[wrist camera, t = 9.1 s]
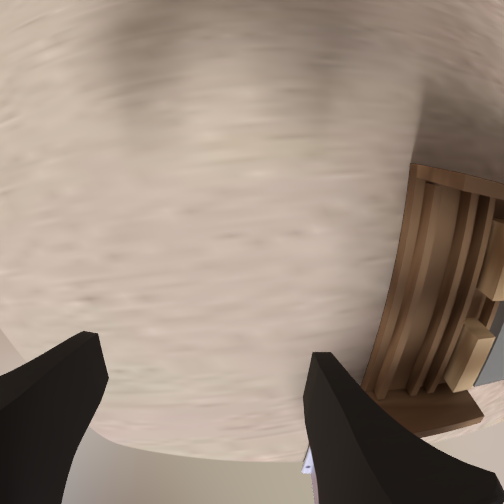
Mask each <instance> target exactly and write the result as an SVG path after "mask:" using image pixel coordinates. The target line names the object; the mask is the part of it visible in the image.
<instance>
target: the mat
mask: <svg viewBox="0 0 504 504" xmlns="http://www.w3.org/2000/svg"><path fill="white" fill-rule="evenodd" d="M489 331H490V332H491V333H492V334H493V335H494V336H495V337H496V338H495V340H494V342H493V345H492V347H491V349H490V351H489V353H488V356H487V358H486V360H485V362H484V364H483V366H482V368H481V370H480V372H479V374H478V376H477V378H476V380H475V382H474V384H473V386H474V387H476V386H480V385H484V384H489V383H493V382H497V381H500V380H504V301H500V303H499V306H498V309H497V311H496V314H495V317H494V320H493V322H492V325H491V327H490V330H489Z"/></svg>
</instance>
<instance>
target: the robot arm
mask: <svg viewBox="0 0 504 504" xmlns="http://www.w3.org/2000/svg"><path fill="white" fill-rule="evenodd" d="M108 379H109V377H108V373H107V369H106V365H105V361H104V357H103V353H102V349H101V345H100V340H99V336H98V333H92V332H86V331H82V332H80V333H78V334H76V335H75V336H73V337H71V338H69V339H67V340H66V341H64V342H62V343H61V344H59V345H57V346H56V347H54V348H52V349H50V350H49V351H47V352H45V353H44V354H42V355H40V356H39V357H37V358H35V359H33V360H31V361H29V362H28V363H26V364H24V365H22V366H20V367H18V368H16V369H14V370H13V371H10V372H8V373H6V374H4V375H1V376H0V504H61V503H62V497H63V493H64V489H65V485H66V481H67V477H68V474H69V470H70V467H71V464H72V461H73V458H74V455H75V453H76V450H77V447H78V445H79V443H80V442H81V439H82V437H83V436H84V433H85V432H86V429H87V428H88V426H89V424H90V422H91V420H92V418H93V416H94V414H95V412H96V410H97V408H98V406H99V404H100V402H101V399H102V397H103V394H104V391H105V388H106V385H107V382H108ZM303 402H304V416H305V425H306V430H307V435H308V440H309V444H310V446H309V449H308V452H307V455H306V458H305V461H304V463H303V466H302V473H311V477H312V484H313V493H314V500H315V504H503V502H504V490H503V488H502V486H501V484H500V482H499V480H498V478H497V476H496V474H495V473H493V472H490V471H487V470H484V469H482V468H479V467H476V466H473V465H470V464H467V463H465V462H463V461H460V460H458V459H456V458H454V457H452V456H450V455H448V454H446V453H444V452H442V451H440V450H438V449H436V448H435V447H433V446H431V445H430V444H428V443H427V442H425V441H423V440H422V439H420V438H419V437H417V436H416V435H414V434H413V433H411V432H410V431H409V430H407V429H406V428H405V427H403V426H402V425H401V424H400V423H398V422H397V421H396V420H394V419H393V418H392V417H391V416H390V415H389V414H387V413H386V412H385V411H384V410H383V409H382V408H381V407H380V406H379V405H378V404H377V403H376V402H375V401H374V400H373V399H372V398H371V397H370V396H369V395H368V394H367V393H366V392H365V391H364V390H363V389H362V388H361V387H360V386H359V385H358V383H357V382H356V381H355V380H354V379H353V378H352V377H351V375H350V374H349V373H348V372H347V371H346V370H345V368H344V367H343V366H342V365H341V364H340V362H339V361H338V360H337V359H336V358H335V356H334V355H333V354H332V353H331V352H313V353H312V358H311V363H310V367H309V372H308V377H307V381H306V386H305V391H304V395H303Z"/></svg>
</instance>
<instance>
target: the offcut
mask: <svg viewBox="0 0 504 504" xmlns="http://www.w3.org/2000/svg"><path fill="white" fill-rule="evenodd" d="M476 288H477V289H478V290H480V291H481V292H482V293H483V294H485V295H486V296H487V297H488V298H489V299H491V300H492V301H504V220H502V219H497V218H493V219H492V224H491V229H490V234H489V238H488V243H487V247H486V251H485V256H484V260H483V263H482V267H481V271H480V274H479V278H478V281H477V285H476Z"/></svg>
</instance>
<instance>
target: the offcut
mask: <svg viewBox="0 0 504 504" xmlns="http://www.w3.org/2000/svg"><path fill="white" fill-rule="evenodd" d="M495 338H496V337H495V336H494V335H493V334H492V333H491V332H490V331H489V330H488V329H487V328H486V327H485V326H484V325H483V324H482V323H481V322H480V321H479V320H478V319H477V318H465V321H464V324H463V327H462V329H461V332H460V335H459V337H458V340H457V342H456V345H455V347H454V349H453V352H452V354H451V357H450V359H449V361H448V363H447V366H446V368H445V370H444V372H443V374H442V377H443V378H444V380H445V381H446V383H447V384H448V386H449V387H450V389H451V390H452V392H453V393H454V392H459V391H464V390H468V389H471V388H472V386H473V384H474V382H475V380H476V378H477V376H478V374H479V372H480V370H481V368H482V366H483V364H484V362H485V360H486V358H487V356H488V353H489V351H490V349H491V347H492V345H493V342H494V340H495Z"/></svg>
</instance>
